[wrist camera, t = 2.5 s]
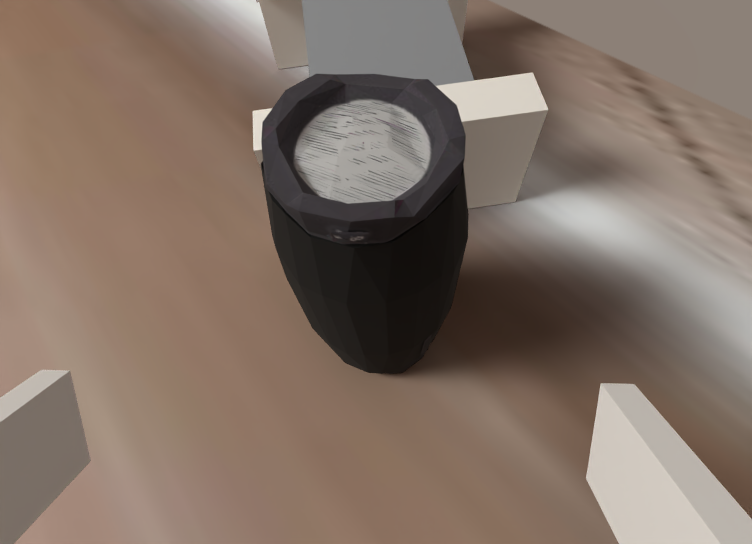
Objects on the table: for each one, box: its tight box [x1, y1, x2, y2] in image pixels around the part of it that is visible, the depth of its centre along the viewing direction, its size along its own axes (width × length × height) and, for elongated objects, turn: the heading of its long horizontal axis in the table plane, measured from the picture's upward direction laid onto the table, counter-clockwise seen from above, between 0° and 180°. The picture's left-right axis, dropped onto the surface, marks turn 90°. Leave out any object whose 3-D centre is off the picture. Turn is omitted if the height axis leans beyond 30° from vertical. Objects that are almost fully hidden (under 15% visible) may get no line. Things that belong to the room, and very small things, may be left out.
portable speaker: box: [261, 74, 468, 374], centre depth 26 cm, size 9×9×20 cm
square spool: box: [253, 0, 548, 209], centre depth 40 cm, size 22×19×10 cm
